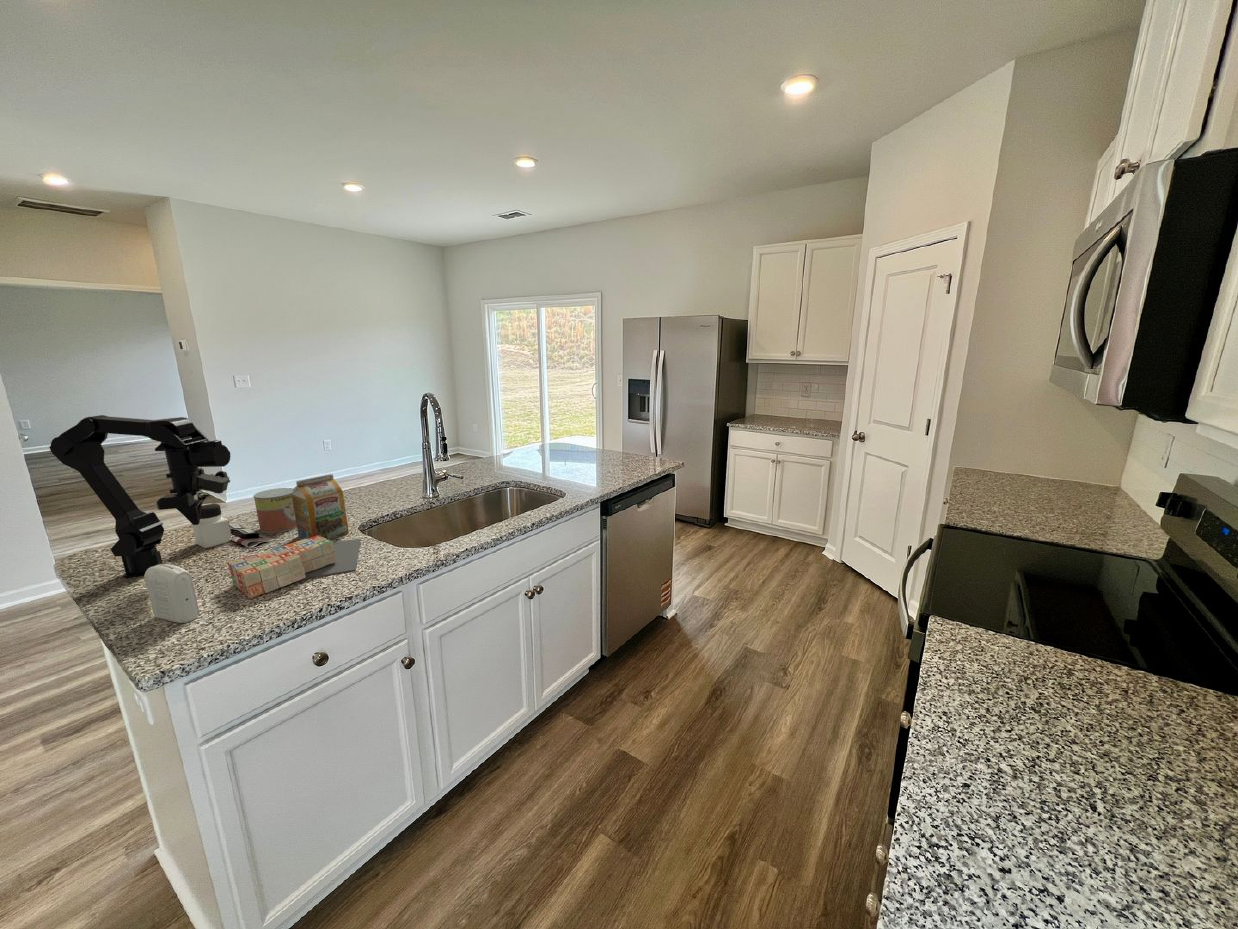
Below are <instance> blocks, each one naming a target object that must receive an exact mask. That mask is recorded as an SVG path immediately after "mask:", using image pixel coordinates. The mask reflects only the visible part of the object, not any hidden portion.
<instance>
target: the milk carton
mask: <svg viewBox="0 0 1238 929" xmlns="http://www.w3.org/2000/svg"><path fill="white" fill-rule="evenodd" d="M292 489H293V491H292V500H293V506H294V512H295V518H296V524H297V528H296V529H297V530H296V531H297V533H298V534H297V535H298V537H299V538H302V540H304V539H308V538H311V537H314V536H317V535H319V536H321V537H324V538H326V539H329V540H331V539H333V538H334V539H335V538H337V537H340V536H344V535H347V534H349V532H350V531H349V525H348V519H347V518H348V517H347V510H346V505H345V503H346V502H345V498H344V491H343V489H342V487H341V486H340V484H339V483H338V482H337V481H336V480H335V478H334V475H333V473H330V474H325V475H321V476H315V477H310V478H305V479H301V480H300V479H299V480H296V486H294V488H292Z"/></svg>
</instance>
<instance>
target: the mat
mask: <svg viewBox="0 0 1238 929" xmlns="http://www.w3.org/2000/svg"><path fill="white" fill-rule="evenodd" d="M333 546H334V551H335V554H336V559H337V562H334V563H332V564H329V565H326V566H324V567H322V568H319V569H316V570H312V571H310V572H307V573H305V576H306V578H303V579H301V580H300V581H302V580H308V579H315V578H319V577H320V578H321V577H326V576H333V575H339V574H344V573H345V574H346V573H349V572H350V573H351V572H355V571H357V569H358V568H357V567H358V559H359V553H360V548H361V547H360V546H361V538H354V539H348V540H341V541H333Z"/></svg>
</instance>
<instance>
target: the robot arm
mask: <svg viewBox="0 0 1238 929" xmlns="http://www.w3.org/2000/svg"><path fill="white" fill-rule="evenodd" d="M109 434H111V435H122V436H123V435H125V436H135V437H137V436H139V437H147V438H149V439H150V440H152V441H155V442H160V444H159V445H158V446H157V447H155V448H154V451H155V452H164V454H165V459H166V463H167V468H168V473H165V477H166V479H170V480H171V486H172V488H170V489H169V493H170V494H165V495H163V496H161V497H160V498H159V499H157V501H156V507H157V508H156V509H157V511H163V510H172V509H176V510H177V511H178V512H180V514H182V516H184V517H185V519H187V521H188V522H189V523H190V524H191V525H192V524H193V525H198V524H199V523H200V516H201V509H202V505H203V504H204V502H205V501H206V500H207V499H208V497H210V496H211V494H204V492H202V491H207V492H213V493H214V494H223V492H225V491H227V490H228V485H229V483H230V482H231V480H230V477H229V475H228V472H227V471H223V470H219V471H217V472H216V473H215V474H213V473H211V474H208V473H205V470H204V468H211V467H212V468H215V467H219V468H220V467H226V466H228V464H229V463H230V461H231V451H230V450H229V448H228V447H227V446H226V445H225V444H222V442H223V441H222V440H220V439H215V440H209V439H208V438H207V436H205V434H204V433H203V432H201V431H200V430H199V429H198V428H197V427H196V426H195V425H194V423H193V422H192V421H191V419H189V418H188V417H184V416H183V417H182V416H181V417H180V416H179V417H170V418H161V419H146V418H145V419H144V418H143V419H142V418H133V417H120V416H119V417H118V416H108V415H103V414H102V415H93V416H86V417H84V418H83V419H81V420H80V421H79V422H78V423H76V425H73V426H72V427H70V428H69V429H67V430H65V431H63V432H62V433H61V434H59V435H58V436H56V437H54V438H53V439H52V440H51V442H50V446H49V450H50V453H51V454H52V455H53V456H54V457H56V459H57V460H58V461H59V462H60V463H61V464H62V465H64V466H67V467H69V468H71V469H73V470H74V471H75V470H76V471H77V472H79V474H80V475H81V476H82V478H83V479H84V480H85V482H86V483H87V484H88V485H89V487H90V488H91V489H92V491H93V492H94V494H95V495H96V496H97V497H98V498H99V500H100V502H102V504H103V505H104V506H105V508H106V509H107V510H108V512H109V513H110V515H111V516H112V517H113V518H114V520H115V527H114V528H115V530H114V531H115V534H116V536H117V538H118V540H117V541H116V542H115V543H114V545H112V547H111V548H110V552H111V553H112V554H113V555H114V557H121V561H122V565H123V569H124V572H125V573H124V574H123V575H122V578H123V579H124V578H126V579H127V578H130V577H137V576H144V575H145V572H146V571H147V569H148V568H150V567H153V566H156V565H160V564H164V562H163V560H162V559H163V558H162V556H161V551H160V550H158V549H157V545H160V544H162V538H163V536H164V532H165V528H164V526H163V525H164V522H162V521H161V520H160V519H159V517H158V515H157V513H155V512H154V511H151V512H145V511H143V510H141V509H139V508H138V506H137V505H136V503H135V502H134V500H133V499H132V498H131V496H130V495H129V494H128V493H127V491H126V490H125V488H124V487H123V486H122V484H121V483H120V482H119V481H118V479H117V478H116V476H115V475H114V474H113V473H112V471H111V470H110V469H109V467H108V466H107V464H106V463H105V449H104V447H103V445H102V444H103V443H104V442H105V441H106V440H107V439H108V435H109Z"/></svg>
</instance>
